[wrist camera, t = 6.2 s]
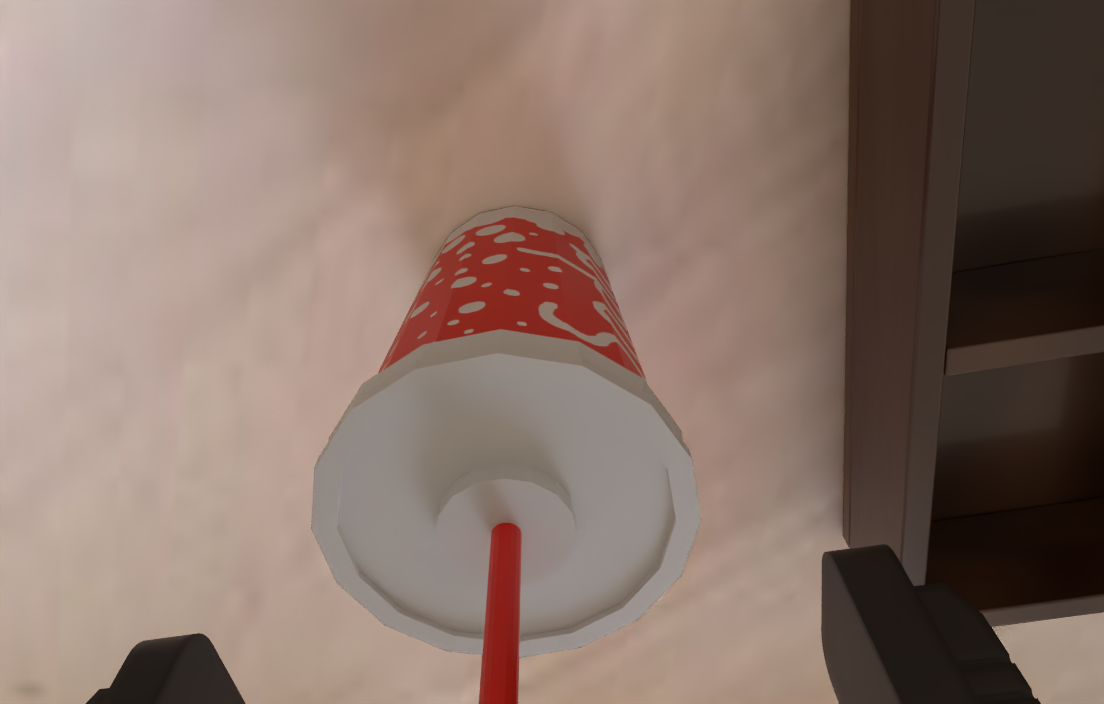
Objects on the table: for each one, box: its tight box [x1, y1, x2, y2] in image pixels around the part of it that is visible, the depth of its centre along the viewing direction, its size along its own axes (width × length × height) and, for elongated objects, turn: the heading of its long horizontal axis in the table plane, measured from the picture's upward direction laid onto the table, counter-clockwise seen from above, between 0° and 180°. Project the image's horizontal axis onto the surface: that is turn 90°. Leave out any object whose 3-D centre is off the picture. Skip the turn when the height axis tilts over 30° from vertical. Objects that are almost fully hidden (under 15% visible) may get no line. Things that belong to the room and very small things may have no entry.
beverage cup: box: [311, 206, 701, 704], centre depth 14 cm, size 6×6×14 cm
